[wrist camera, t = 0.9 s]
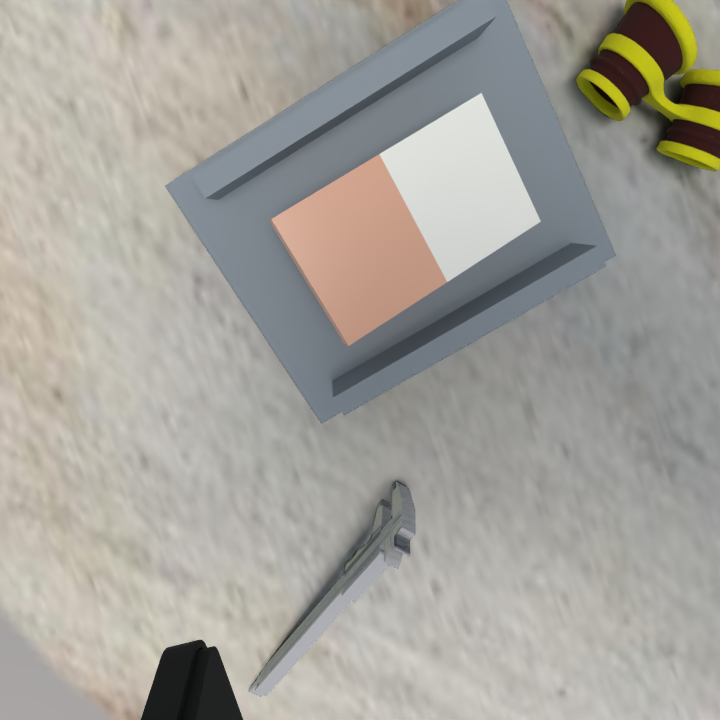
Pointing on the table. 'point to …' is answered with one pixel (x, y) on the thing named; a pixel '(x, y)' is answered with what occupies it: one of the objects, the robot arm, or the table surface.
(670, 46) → the opera glasses
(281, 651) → the caliper
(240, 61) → the table surface
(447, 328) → the grey piece
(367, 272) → the two-tone peach white tile
